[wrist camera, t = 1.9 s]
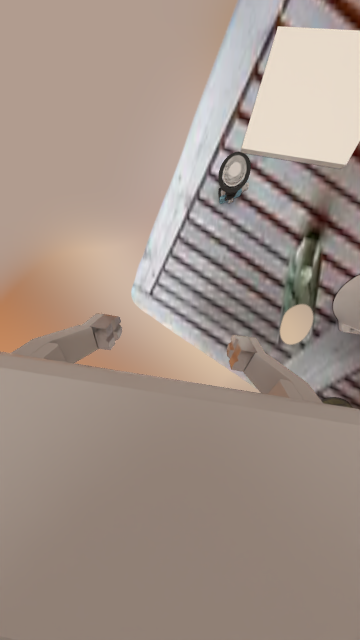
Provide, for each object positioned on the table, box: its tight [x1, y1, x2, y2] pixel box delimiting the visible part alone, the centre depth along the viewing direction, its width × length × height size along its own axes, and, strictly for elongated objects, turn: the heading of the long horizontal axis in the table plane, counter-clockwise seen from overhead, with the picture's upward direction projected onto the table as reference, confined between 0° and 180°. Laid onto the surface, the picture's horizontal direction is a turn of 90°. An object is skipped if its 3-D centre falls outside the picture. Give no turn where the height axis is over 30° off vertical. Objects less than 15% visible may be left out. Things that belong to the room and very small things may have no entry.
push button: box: [218, 152, 251, 204], centre depth 27 cm, size 7×5×10 cm
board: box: [241, 27, 360, 169], centre depth 24 cm, size 20×14×1 cm
